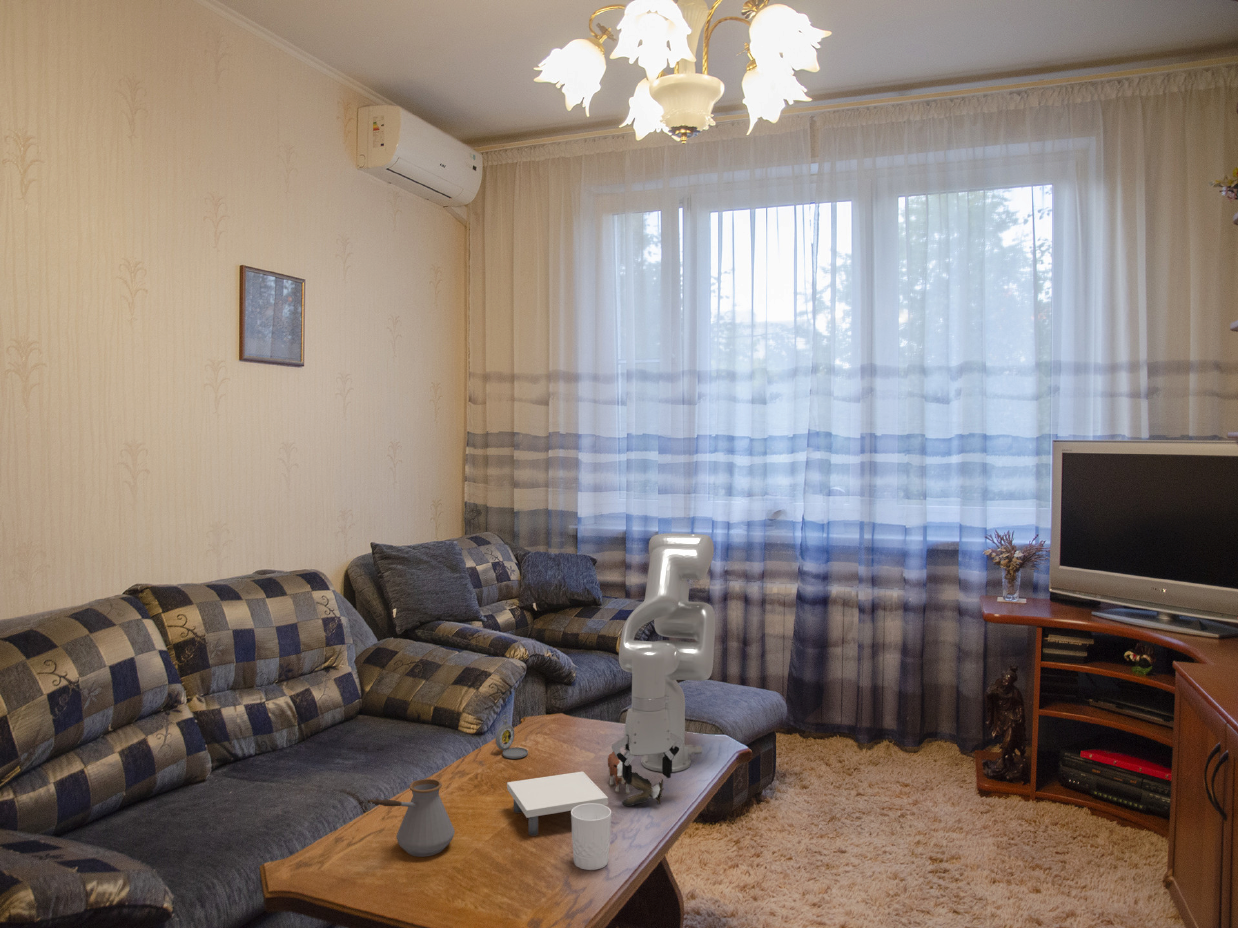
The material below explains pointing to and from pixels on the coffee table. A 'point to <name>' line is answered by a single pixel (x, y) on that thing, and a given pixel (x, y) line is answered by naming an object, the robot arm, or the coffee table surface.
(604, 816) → the white cup
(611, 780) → the bull figurine
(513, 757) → the pocket watch
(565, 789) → the display shelf
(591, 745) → the coffee table surface
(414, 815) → the coffee pot
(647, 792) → the eagle figurine
